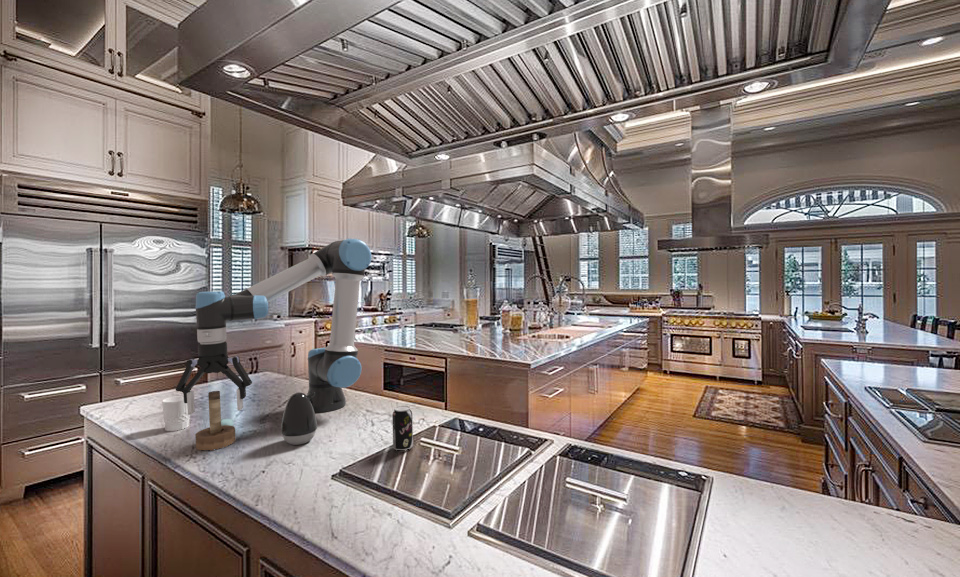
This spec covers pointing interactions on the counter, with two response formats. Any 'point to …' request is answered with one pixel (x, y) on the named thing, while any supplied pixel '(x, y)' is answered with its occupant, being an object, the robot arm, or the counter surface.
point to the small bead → (227, 422)
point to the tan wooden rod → (214, 412)
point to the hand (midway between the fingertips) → (216, 411)
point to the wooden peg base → (215, 438)
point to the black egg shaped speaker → (299, 419)
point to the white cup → (175, 413)
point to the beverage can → (402, 428)
